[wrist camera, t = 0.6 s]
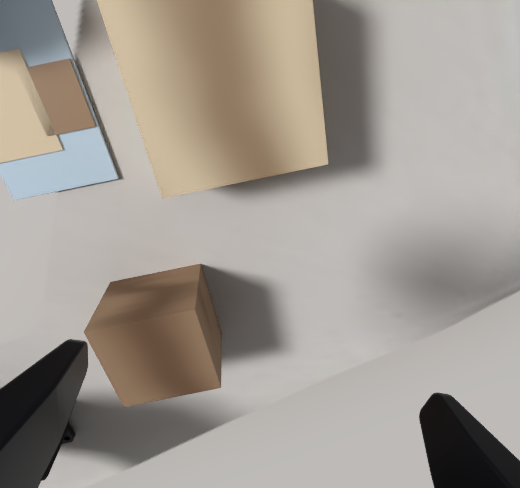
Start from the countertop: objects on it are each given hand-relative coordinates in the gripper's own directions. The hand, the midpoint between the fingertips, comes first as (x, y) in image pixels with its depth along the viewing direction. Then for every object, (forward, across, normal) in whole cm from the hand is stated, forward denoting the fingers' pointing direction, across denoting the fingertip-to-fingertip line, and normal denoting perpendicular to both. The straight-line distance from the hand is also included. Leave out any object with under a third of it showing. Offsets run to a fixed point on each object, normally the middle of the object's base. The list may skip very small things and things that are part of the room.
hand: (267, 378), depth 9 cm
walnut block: (+13, +4, +10) cm, 17 cm away
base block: (+14, +3, -5) cm, 15 cm away
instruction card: (+13, +12, -2) cm, 18 cm away
